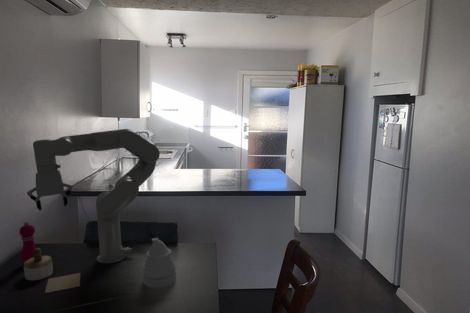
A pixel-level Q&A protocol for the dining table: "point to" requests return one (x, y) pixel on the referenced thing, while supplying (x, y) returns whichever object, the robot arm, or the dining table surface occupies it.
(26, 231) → the pepper mill
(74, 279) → the mat
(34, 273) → the bowl
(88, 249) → the dining table surface
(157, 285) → the honey pot
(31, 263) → the lid
